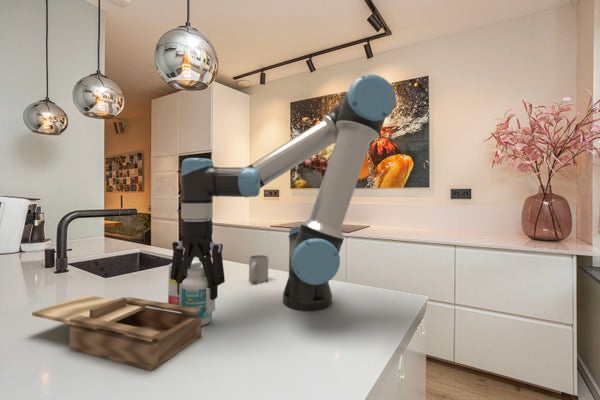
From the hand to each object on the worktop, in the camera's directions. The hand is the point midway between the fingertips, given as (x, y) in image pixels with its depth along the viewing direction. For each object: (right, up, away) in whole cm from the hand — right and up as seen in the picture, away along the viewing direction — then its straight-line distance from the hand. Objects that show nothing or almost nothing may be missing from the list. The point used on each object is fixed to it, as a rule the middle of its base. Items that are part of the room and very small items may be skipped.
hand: (197, 309), depth 75 cm
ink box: (-9, -3, +15) cm, 17 cm away
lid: (-23, +2, -6) cm, 24 cm away
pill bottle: (0, -3, 0) cm, 3 cm away
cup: (+10, -3, +36) cm, 37 cm away
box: (-9, -3, -11) cm, 14 cm away
